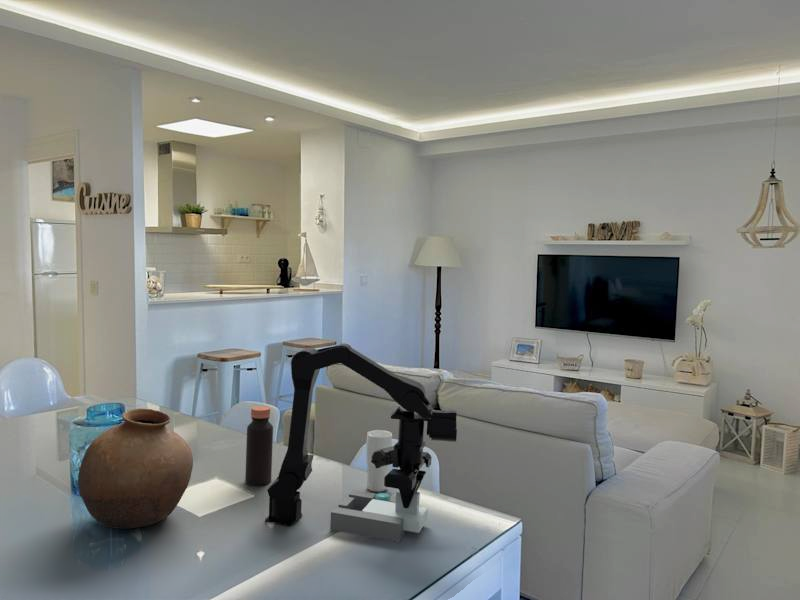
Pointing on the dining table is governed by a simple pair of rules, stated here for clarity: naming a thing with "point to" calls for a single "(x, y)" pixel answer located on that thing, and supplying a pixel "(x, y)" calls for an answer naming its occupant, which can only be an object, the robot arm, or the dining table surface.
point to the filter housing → (365, 518)
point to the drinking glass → (374, 475)
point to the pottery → (135, 471)
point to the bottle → (259, 447)
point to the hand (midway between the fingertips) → (407, 505)
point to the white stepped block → (401, 511)
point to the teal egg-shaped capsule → (383, 497)
